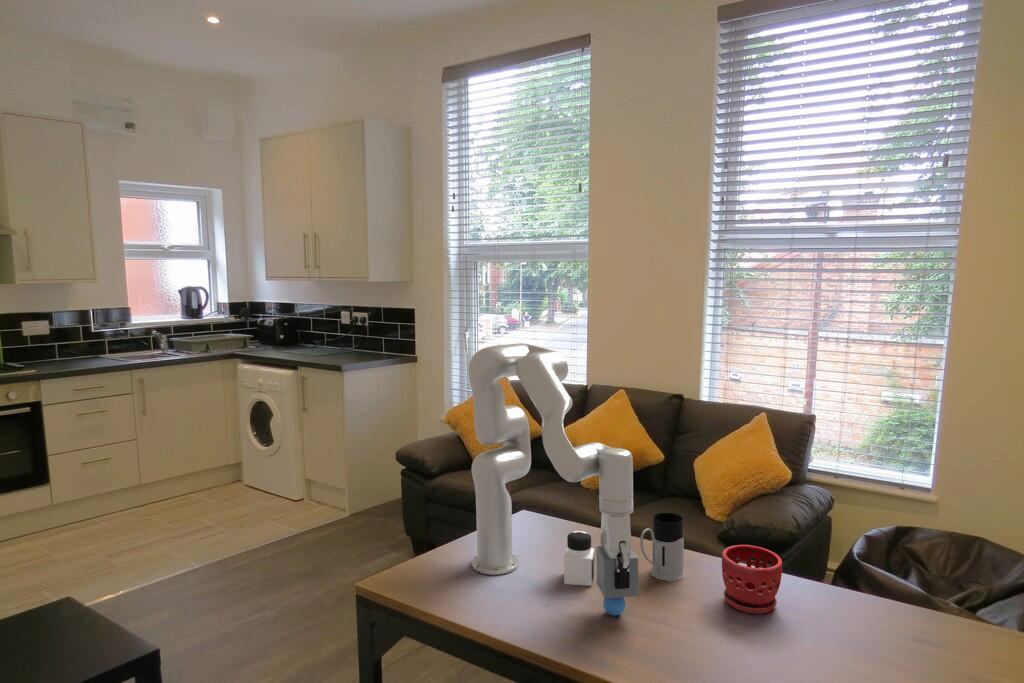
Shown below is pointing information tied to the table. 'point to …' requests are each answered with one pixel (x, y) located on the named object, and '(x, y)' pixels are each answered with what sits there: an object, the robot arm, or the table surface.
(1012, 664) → the table surface
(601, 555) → the gray cube
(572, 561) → the medicine bottle
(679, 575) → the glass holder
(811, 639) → the table surface
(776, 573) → the plant pot
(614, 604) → the ball
